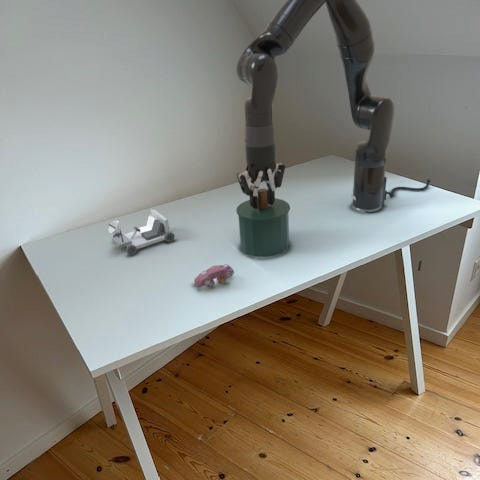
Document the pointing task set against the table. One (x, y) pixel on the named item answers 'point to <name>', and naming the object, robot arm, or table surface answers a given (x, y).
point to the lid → (263, 208)
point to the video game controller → (214, 275)
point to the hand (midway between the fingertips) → (262, 205)
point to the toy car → (142, 233)
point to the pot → (264, 236)
